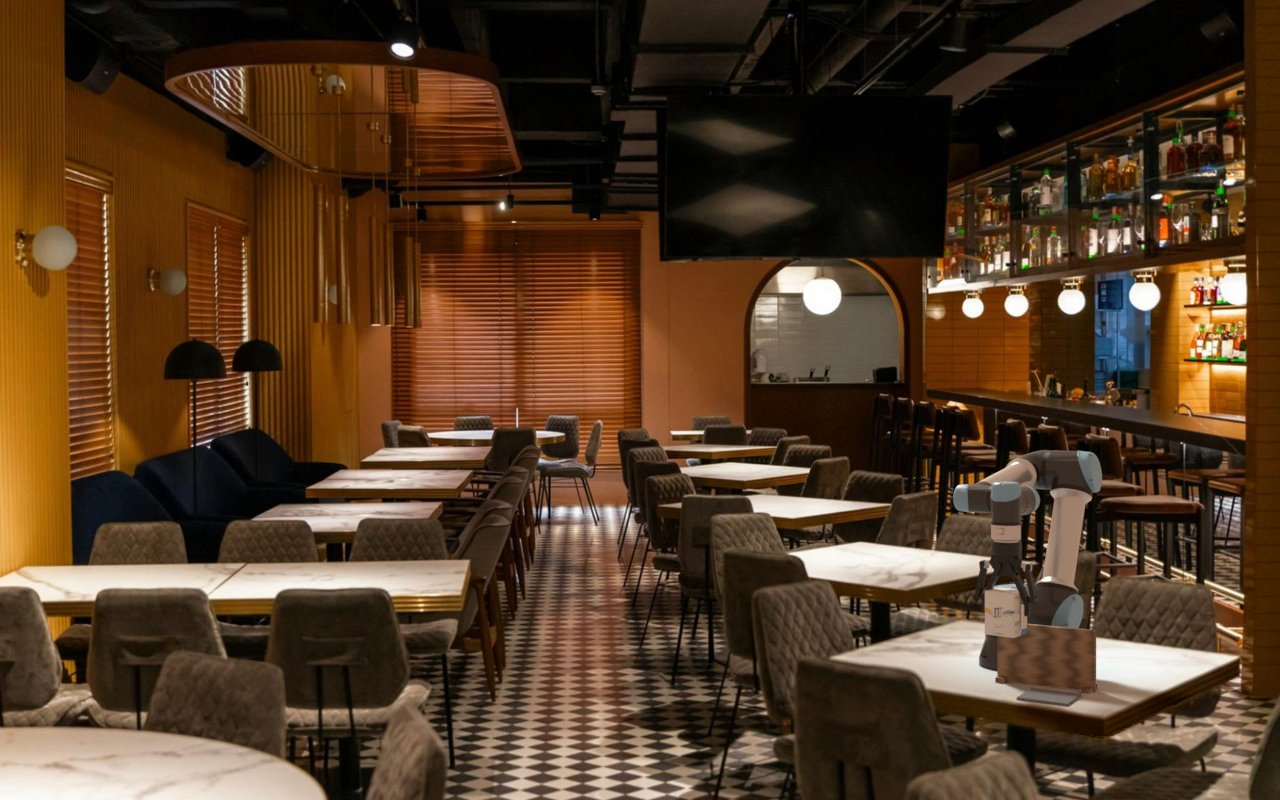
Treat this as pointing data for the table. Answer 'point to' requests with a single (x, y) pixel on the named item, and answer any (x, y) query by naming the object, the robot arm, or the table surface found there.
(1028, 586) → the robot arm
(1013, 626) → the ink box
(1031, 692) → the rubber mat
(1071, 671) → the walnut screen
